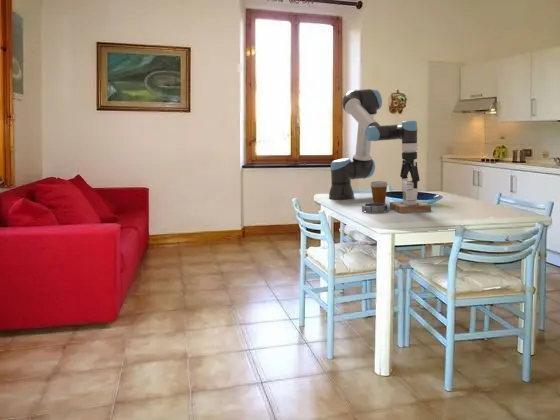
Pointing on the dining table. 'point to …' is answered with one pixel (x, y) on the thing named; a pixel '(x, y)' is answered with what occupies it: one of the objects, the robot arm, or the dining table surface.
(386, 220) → the dining table surface
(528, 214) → the dining table surface
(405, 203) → the syrup box
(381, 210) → the metal ring
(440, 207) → the dining table surface
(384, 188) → the disposable coffee cup
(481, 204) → the dining table surface
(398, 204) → the square socket
